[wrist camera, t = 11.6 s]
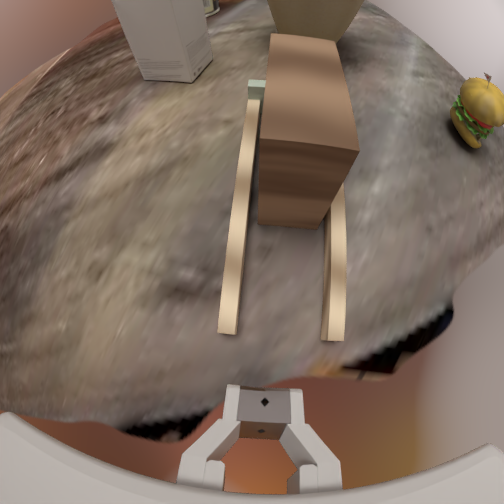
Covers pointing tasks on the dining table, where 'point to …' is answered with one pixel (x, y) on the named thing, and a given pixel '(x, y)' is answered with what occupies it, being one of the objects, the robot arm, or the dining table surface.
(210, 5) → the coffee can
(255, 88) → the end stop
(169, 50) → the skincare box
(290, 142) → the block
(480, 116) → the hamburger
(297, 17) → the plant pot
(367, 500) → the robot arm
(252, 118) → the chute
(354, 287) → the dining table surface
